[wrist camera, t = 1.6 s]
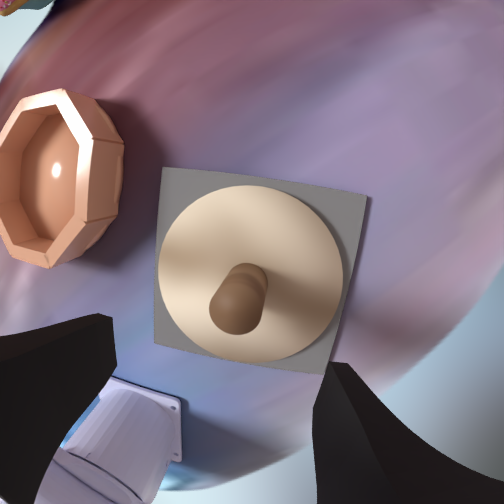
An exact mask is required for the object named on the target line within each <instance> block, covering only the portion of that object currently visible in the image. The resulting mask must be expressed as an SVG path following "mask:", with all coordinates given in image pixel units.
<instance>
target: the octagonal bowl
mask: <svg viewBox="0 0 504 504" xmlns="http://www.w3.org/2000/svg"><path fill="white" fill-rule="evenodd" d="M123 143H124V142H123V140H122V139H121V137H120V136H119V134H118V132H117V130H116V127H115V125H114V123H113V121H112V120H111V118H110V117H109V115H108V114H107V113H106V112H105V111H104V110H103V109H102V108H101V107H100V106H99V105H98V103H97V102H96V100H95V99H93V98H90V97H87V96H84V95H81V94H78V93H75V92H72V91H69V90H66V89H63V88H62V89H58V90H53V91H49V92H45V93H41V94H37V95H34V96H30V97H26V98H23V99H22V100H20V102H19V103H18V105H17V106H16V108H15V110H14V111H13V113H12V114H11V116H10V118H9V119H8V121H7V123H6V124H5V126H4V128H3V130H2V131H1V133H0V235H1V237H2V239H3V241H4V243H5V245H6V247H7V249H8V251H9V253H10V255H11V256H12V257H13V258H16V259H19V260H22V261H25V262H28V263H31V264H35V265H38V266H41V267H44V268H48V269H51V268H53V267H56V266H58V265H60V264H63V263H65V262H67V261H70V260H72V259H75V258H77V257H80V256H82V254H83V253H84V252H85V251H86V250H87V249H88V248H90V247H91V246H93V245H94V244H95V243H96V242H97V241H98V240H99V239H100V238H101V237H102V235H103V234H104V233H105V232H106V230H107V228H108V227H109V225H110V224H111V223H112V221H113V220H114V219H115V218H116V217H117V216H116V215H117V214H118V206H119V199H120V195H121V191H122V184H123V171H124V165H123V153H124V146H125V145H122V144H123Z"/></svg>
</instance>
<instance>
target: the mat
mask: <svg viewBox="0 0 504 504" xmlns="http://www.w3.org/2000/svg"><path fill="white" fill-rule="evenodd" d="M245 185H250V186H262V187H267V188H272V189H275V190H278V191H281V192H284V193H286V194H288V195H290V196H292V197H294V198H296V199H298V200H299V201H301V202H302V203H304V204H305V205H306V206H308V207H309V208H310V209H311V210H312V211H313V212H314V213H315V214H316V215H317V216H318V217H319V218H320V219H321V220H322V221H323V223H324V224H325V225H326V226H327V228H328V230H329V231H330V233H331V235H332V236H333V238H334V240H335V243H336V245H337V248H338V250H339V254H340V258H341V262H342V270H343V286H342V292H341V298H340V301H339V304H338V307H337V310H336V312H335V314H334V316H333V318H332V320H331V321H330V323H329V324H328V326H327V327H326V329H325V330H324V331H323V332H322V333H321V334H320V336H319V337H318V338H317V339H315V340H314V341H313V342H312V343H311V344H310V345H308V346H307V347H305V348H304V349H302V350H301V351H299V352H297V353H295V354H293V355H291V356H288V357H285V358H282V359H279V360H275V361H270V362H262V363H246V362H239V363H244V364H250V365H256V366H261V367H268V368H274V369H281V370H288V371H295V372H303V373H312V374H321V375H324V372H325V369H326V366H327V363H328V360H329V357H330V353H331V350H332V347H333V343H334V340H335V337H336V333H337V330H338V326H339V323H340V319H341V315H342V312H343V308H344V304H345V300H346V296H347V292H348V288H349V284H350V280H351V276H352V271H353V267H354V262H355V258H356V253H357V248H358V243H359V238H360V233H361V228H362V223H363V217H364V212H365V206H366V200H367V196H366V195H362V194H357V193H352V192H347V191H342V190H336V189H331V188H325V187H320V186H314V185H308V184H302V183H296V182H290V181H283V180H277V179H270V178H263V177H255V176H248V175H240V174H232V173H223V172H214V171H204V170H194V169H183V168H170V167H163V169H162V177H161V187H160V197H159V208H158V220H157V234H156V251H155V276H154V343H155V344H159V345H163V346H167V347H171V348H175V349H179V350H183V351H187V352H191V353H195V354H200V355H204V356H209V357H214V358H218V359H223V360H228V361H233V360H229V359H225V358H222V357H220V356H217V355H215V354H213V353H211V352H209V351H207V350H205V349H203V348H202V347H200V346H199V345H197V344H196V343H194V342H193V341H192V340H191V339H190V338H188V337H187V336H186V335H185V334H184V333H183V331H182V330H181V329H180V328H179V327H178V326H177V324H176V323H175V322H174V320H173V319H172V317H171V315H170V313H169V312H168V310H167V308H166V305H165V303H164V301H163V297H162V294H161V290H160V285H159V279H158V264H159V256H160V252H161V247H162V244H163V242H164V239H165V237H166V234H167V232H168V231H169V229H170V227H171V225H172V224H173V222H174V221H175V220H176V219H177V217H178V216H179V215H180V214H181V213H182V212H183V211H184V210H185V209H186V208H187V207H188V206H189V205H191V204H192V203H193V202H195V201H196V200H198V199H199V198H201V197H203V196H205V195H207V194H209V193H211V192H214V191H217V190H219V189H223V188H228V187H233V186H245ZM233 362H238V361H233Z"/></svg>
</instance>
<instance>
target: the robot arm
mask: <svg viewBox="0 0 504 504" xmlns="http://www.w3.org/2000/svg"><path fill="white" fill-rule="evenodd" d="M116 366H117V360H116V351H115V342H114V331H113V319H112V317H109V316H106V315H102V314H99V313H97V314H91V315H87V316H83V317H79V318H75V319H72V320H68V321H65V322H61V323H58V324H54V325H51V326H47V327H43V328H39V329H35V330H31V331H27V332H22V333H18V334H12V335H6V336H0V504H151V503H152V502H153V500H154V498H155V496H156V494H157V492H158V489H159V487H160V485H161V482H162V480H163V478H164V475H165V473H166V471H167V469H168V466H169V464H170V462H171V460H172V461H176V462H181V461H182V440H181V402H180V400H179V399H177V398H175V397H172V396H168V395H165V394H162V393H158V392H155V391H152V390H148V389H145V388H142V387H139V386H136V385H133V384H130V383H127V382H124V381H122V380H119V379H116V378H113V377H111V375H112V373H113V372H114V370H115V368H116ZM98 394H99V396H100V400H101V401H100V402H99V403H98V405H97V406H96V407H95V408H94V409H93V411H92V412H91V413H90V414H89V416H88V417H87V418H86V419H85V421H84V422H83V423H82V424H81V426H80V427H79V428H78V429H77V431H76V432H75V433H74V434H73V436H72V437H71V438H70V439H69V441H68V442H67V443H66V444H65V446H64V447H63V448H61V447H59V446H60V444H61V443H62V441H63V439H64V437H65V436H66V434H67V433H68V431H69V430H70V429H71V427H72V426H73V425H74V423H75V422H76V421H77V420H78V418H79V417H80V416H81V415H82V414H83V412H84V411H85V410H86V409H87V407H88V406H89V405H90V404H91V403H92V401H93V400H94V399H95V398H96V396H97V395H98ZM173 406H174V407H173ZM312 439H313V449H314V461H315V471H316V483H317V504H504V482H503V481H500V480H496V479H493V478H490V477H488V476H485V475H482V474H480V473H478V472H476V471H473V470H471V469H469V468H467V467H465V466H463V465H461V464H459V463H457V462H456V461H454V460H452V459H451V458H449V457H447V456H446V455H444V454H442V453H441V452H439V451H438V450H436V449H435V448H433V447H432V446H430V445H429V444H428V443H426V442H425V441H424V440H422V439H421V438H420V437H419V436H417V435H416V434H415V433H413V432H412V431H411V430H410V429H408V427H407V426H405V425H404V424H403V423H402V422H401V421H400V420H399V419H398V418H397V417H396V416H395V415H394V414H393V413H392V412H391V411H390V410H389V409H388V408H387V407H386V406H385V405H384V404H383V403H382V402H381V401H380V400H379V398H378V397H377V396H376V395H375V394H374V393H373V392H372V391H371V389H370V388H369V387H368V386H367V385H366V384H365V383H364V381H363V380H362V379H361V378H360V377H359V376H358V374H357V373H356V372H355V371H354V370H353V369H352V367H351V366H350V365H349V364H348V363H340V362H330V361H329V363H328V366H327V369H326V372H325V375H324V378H323V381H322V384H321V387H320V390H319V393H318V395H317V398H316V401H315V404H314V406H313V420H312Z"/></svg>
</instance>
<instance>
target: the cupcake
mask: <svg viewBox="0 0 504 504" xmlns="http://www.w3.org/2000/svg"><path fill="white" fill-rule="evenodd" d="M52 1H53V0H0V15H2V16H7V15H10V14H11V13H13V12H15V11H16V10H17V9H35V10H39V9H42V8H44V7H46V6H47V5H48V4H49V3H51V2H52Z"/></svg>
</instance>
